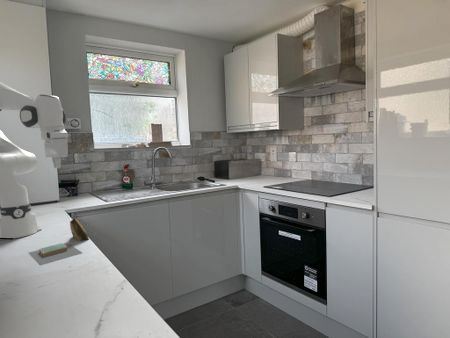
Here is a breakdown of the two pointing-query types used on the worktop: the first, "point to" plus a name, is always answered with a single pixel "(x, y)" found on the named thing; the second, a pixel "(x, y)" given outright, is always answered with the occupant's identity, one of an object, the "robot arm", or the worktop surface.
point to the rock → (78, 230)
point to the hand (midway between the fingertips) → (57, 168)
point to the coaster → (52, 250)
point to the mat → (55, 255)
